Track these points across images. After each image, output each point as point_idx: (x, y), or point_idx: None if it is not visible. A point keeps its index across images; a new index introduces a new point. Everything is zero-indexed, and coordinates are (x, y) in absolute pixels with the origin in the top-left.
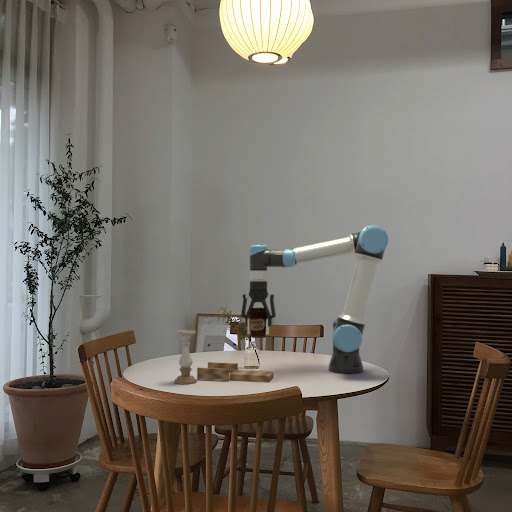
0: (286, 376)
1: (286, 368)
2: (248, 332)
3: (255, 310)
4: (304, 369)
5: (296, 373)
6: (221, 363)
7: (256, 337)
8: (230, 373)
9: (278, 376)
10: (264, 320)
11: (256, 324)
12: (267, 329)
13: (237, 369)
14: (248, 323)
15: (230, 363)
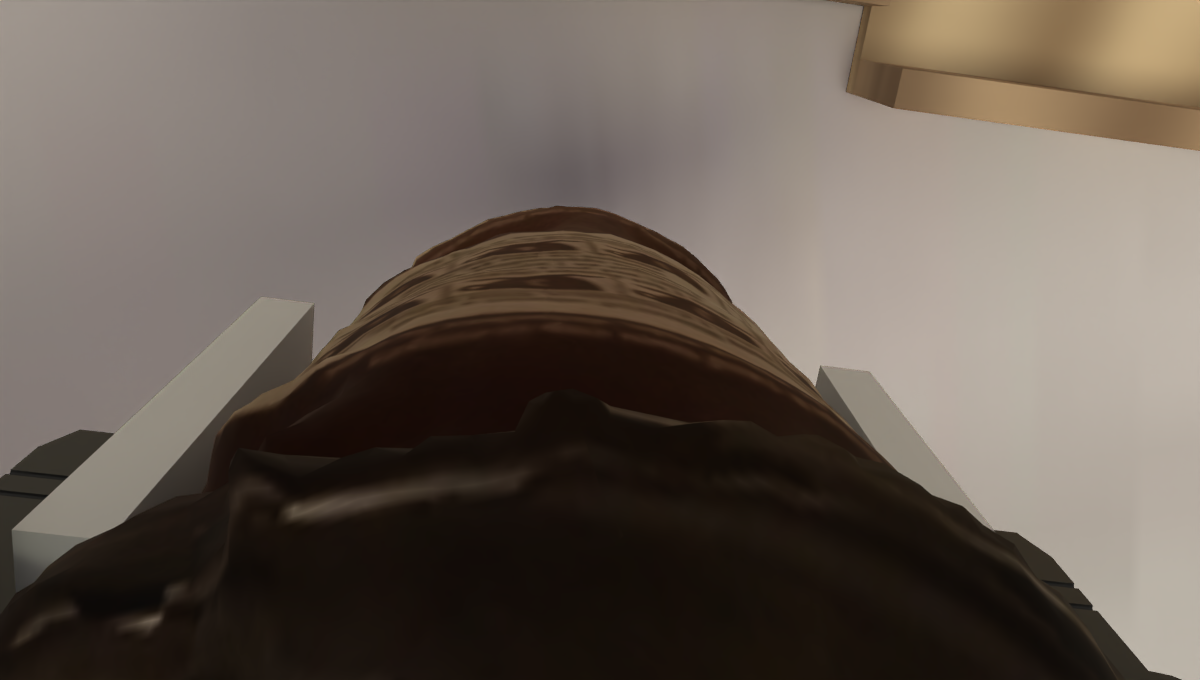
0: (154, 51)
1: None
2: (853, 384)
3: (746, 643)
4: None
5: (61, 291)
6: (1158, 105)
7: (594, 209)
8: (955, 30)
9: (265, 37)
10: (210, 473)
11: (599, 263)
12: (219, 351)
13: (870, 84)
14: None
15: (1014, 84)
